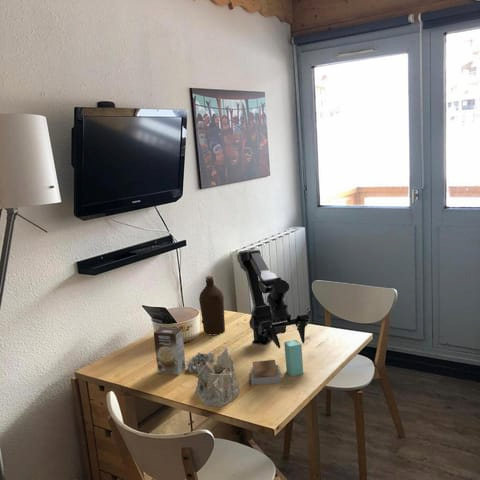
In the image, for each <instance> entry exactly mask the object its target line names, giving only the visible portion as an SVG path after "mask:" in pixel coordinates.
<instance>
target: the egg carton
mask: <svg viewBox="0 0 480 480" xmlns="http://www.w3.org/2000/svg"><path fill="white" fill-rule="evenodd" d="M208 356H209V354H207V353H201V352H197V354H196V355H194V356H193V357H191V359H189V360H188V361H185V365H186V367H187V371H188V372H189V373H193V372H196V373H197V374H199V373H200V371H201V370H202V369H203V368H204V366H205V364H206V363H207V362H208V361H209V358H208ZM197 364H198V365H197Z"/></svg>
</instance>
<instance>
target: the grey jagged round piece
mask: <svg viewBox="0 0 480 480" xmlns="http://www.w3.org/2000/svg"><path fill="white" fill-rule="evenodd" d="M228 349H229V348H227V347H225V348H224V349H223V351H222V354H217V355H218V356H217V360H216V358H215V354H214V352H213V351H208V355H209V356H208V358H209V361H208V362H207V363H206V364H205V366H204V368H203V369H202V370H201V371H200V373H197V375H196V378H197V381H196V382H197V385H196V389H195V393H196V395H197V396H198V398H199V399H200V400H201V401H202V403H203V404H204V405H206V406H209V407H211V406H212V407H224V406H226V405H228V404H230V403H231V402H232V401H235V400H236V398H238V396H239V394H240V388H239V384H238V381H237V376H236V373H235V368H234V361H233V358H232V356H231V355H229V351H228Z"/></svg>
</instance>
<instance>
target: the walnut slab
mask: <svg viewBox="0 0 480 480" xmlns="http://www.w3.org/2000/svg"><path fill="white" fill-rule="evenodd" d="M276 363H277V362H276V359H268V360H256V361H255V360H254V361H252V367H253V373H254V378H261V377H272V376H277V368H276V365H277V364H276Z"/></svg>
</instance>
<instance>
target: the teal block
mask: <svg viewBox="0 0 480 480" xmlns="http://www.w3.org/2000/svg"><path fill="white" fill-rule="evenodd" d="M302 347H303V346H302V342H300V341H298V340H297V339H293V340H288V341H284V354H285V369H286V371H285V372H287V374H289V375H290V377H293V376H294V377H295V376H298V375H303V374H304V365H303V352H302V351H303V348H302Z"/></svg>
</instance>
